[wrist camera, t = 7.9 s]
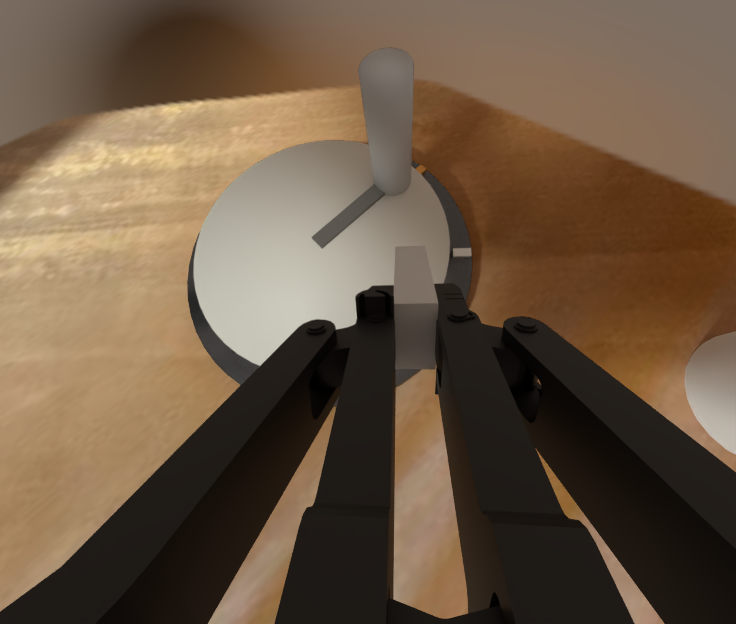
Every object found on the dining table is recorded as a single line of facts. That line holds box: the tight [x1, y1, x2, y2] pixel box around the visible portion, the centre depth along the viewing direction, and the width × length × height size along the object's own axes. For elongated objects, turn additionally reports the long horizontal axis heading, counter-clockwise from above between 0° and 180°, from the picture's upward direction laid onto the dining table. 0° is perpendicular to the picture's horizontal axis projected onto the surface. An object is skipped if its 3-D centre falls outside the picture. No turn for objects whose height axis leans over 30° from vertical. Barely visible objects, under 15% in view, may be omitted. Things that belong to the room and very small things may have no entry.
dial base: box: [187, 161, 472, 407], centre depth 28 cm, size 24×24×2 cm
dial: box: [194, 48, 450, 366], centre depth 22 cm, size 20×20×11 cm
